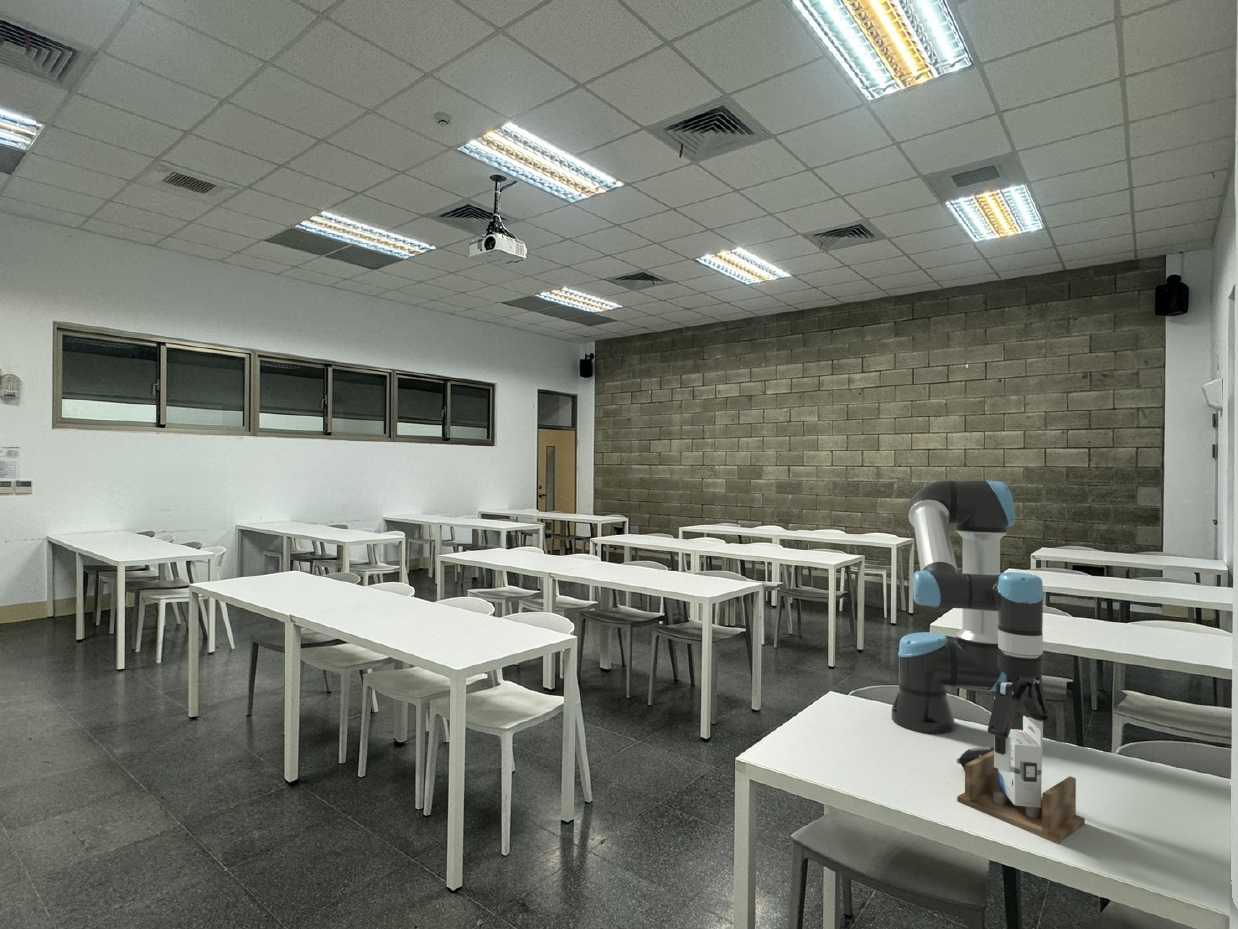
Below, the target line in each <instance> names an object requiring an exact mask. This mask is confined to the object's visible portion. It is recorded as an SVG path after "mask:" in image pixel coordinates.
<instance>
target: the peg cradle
mask: <svg viewBox="0 0 1238 929" xmlns="http://www.w3.org/2000/svg"><path fill="white" fill-rule="evenodd" d="M1076 778H1077V777H1073V776H1071V775H1070V776H1068V777H1066V778H1065V779H1063V780H1061V781H1060V782H1058V783H1056V784H1055V785H1053V786H1052V787H1050V788H1048V789H1047V790H1045V791H1044V792H1041V808H1036V807H1026V806H1016V805H1014V804H1013V803H1012V801H1011V800H1010V799H1009V798H1008V796H1007V795H1006V794H1005V793H1004V791H1003V790H1002V789H1001V788H1000V786H999V785H998V769H997V768H995V767H994V751H991V752H989V753H987V754H985V755H983V756H981V757H979V758H977V759H975V760H973V761H971V762H969V763H967V764H965V770H964V792H962V793H961V794H959V795H957V799H956V800H957V802H959V803H960V804H963V805H965V806H968V807H969V808H972V809H974V810H977V811H979V812H981V813H984V814H987V815H989V816H991V817H994V818H996V819H998V820H1000V821H1002V822H1005V823H1007V824H1010V825H1012V826H1015V827H1018V828H1020V829H1022V830H1024V831H1027V832H1029V833H1031V834H1033V835H1037V836H1038V837H1040V838H1044V839H1045V840H1048V841H1050V842H1052V843H1055V844H1059V843H1061V842H1062V841H1063V840H1065V839H1066V838H1067V837H1070V835H1071V834H1073V833H1074V832H1075V831H1077V830H1078V829H1080V828H1081V827H1082V826H1084V825H1085V823H1086V822H1085V821H1086V818H1085V817H1082V816H1080V815H1077V813H1076V812H1077V809H1076V808H1077V805H1076V804H1077V779H1076Z"/></svg>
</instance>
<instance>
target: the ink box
mask: <svg viewBox="0 0 1238 929" xmlns="http://www.w3.org/2000/svg"><path fill="white" fill-rule="evenodd" d="M1029 727H1032V728H1033V730H1034V731H1035V734H1034V733H1033V732H1032V731H1031V730H1030V728H1029ZM1008 737H1011V772H1009V773H1008V772H1005V771H1003V770H1000V769H998V785H999V786H1000V788H1001V789H1002V790H1003V791H1004V793H1005V794H1006V795H1007V796H1008V798H1009V799H1010V800H1011V801H1012V803H1013V804H1014V805H1016V806H1026V807H1036V808H1041V799H1042V781H1043V780H1042V778H1043V777H1042V776H1043V775H1042V772H1043V770H1042V769H1043V768H1042V767H1043V764H1042V763H1043V762H1042V759H1043V758H1042V757H1043V754H1042V732H1041V730H1040V729H1039V728H1038V727H1037V726H1036V725H1035V724H1034V723H1032V722H1031V721H1030V720H1029V719H1028V718H1027V716H1026V715H1023V716H1022V729H1015V728H1014V729H1013V728H1011V730H1010V733H1009V736H1008Z"/></svg>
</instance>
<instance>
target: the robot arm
mask: <svg viewBox="0 0 1238 929" xmlns="http://www.w3.org/2000/svg"><path fill="white" fill-rule="evenodd" d="M1015 512H1016V511H1015V506H1014V500H1013V496H1012V493H1011V491H1010V488H1009V487H1008V485H1007V484H1006V483H1004V482H1002V481H994V480H987V479H986V480H948V479H947V480H946V479H945V480H943V479H942V480H936V481H933V482H929V483H928V484H927V485H925V486H922V488H920V489H919V490H918V491H917V492H916V493H915V494H914V495H913V496H912V498H911V500H910V501H909V504H908V508H907V517H908V521H909V523H910V525H911V526H912V527H913V529H914V534H915V536H914V537H915V540H916V541H915V542H916V548H917V554H918V563H919V569H920V570H917V571H915V572H914V573H913V578H912V595H913V600H914V603H916V604H917V605H919V606H927V607H931V608H948V609H962V623H961V624H962V628H961V629H960V630H959V631H957V633H955V641H953V640H949V639H948V637H947V636H946V635H945V634H943V633H938V632H937V633H935V632H928V631H927V632H925V631H923V632H914V633H913V632H912V633H908V634H906V635H904V636H902V638H900V640H899V648H898V649H899V650H898V652H897V653H898V659H899V660H898V662H899V663H898V692H897V695H896V697H895V700H894V702H893V705H892V706H891V707H892V708H891V720H892V721H893V722H894V723H896V725H899V726H901V727H903V728H906V729H909V730H912V731H916V732H921V733H927V734H944V733H945V734H946V733H949V732H952V731H953V730H954V729H955V719H954V718H955V716H953V715H954V714H953V711H952V708H951V705H950V702H949V700H948V694H947V693H948V692H947V691H948V690H947V689H948V687H949V688H951V687H952V688H959V689H969V690H975V691H976V690H977V691H985V692H989V693H990V692H995V696H994V700H993V703H992V708H991V713H990V718H989V721H988V727H987V733H988V734H991V735H993V747H994V767H995V768H997V769H1000V770H1003V771H1005V772H1008V773H1009V772H1011V737H1008V736H1009V733H1010V730H1011V729H1012V727H1013V724H1014V721H1015V717H1016V715H1017V711H1018V709H1019V708H1021V707H1022V706H1023V705H1024V708H1025V709H1026V712H1027V714H1028V717H1027V716H1026V717H1027V718H1028V719H1029V720H1030V721H1031V722H1032V723H1034V724H1035V725H1036V726H1037V727H1038V728H1039V729H1040V730H1041V732H1042V755H1043V752H1044V750H1043V745H1044V742H1043V741H1044V739H1043V738H1044V736H1043V734H1044V722H1049V719H1050V718H1049V717H1050V716H1049V715H1048V714H1049V707H1048V704H1047V699H1046V695H1045V694H1046V693H1045V691H1044V687H1043V681H1042V680H1043V679H1042V677H1043V676H1042V675H1043V657H1042V656H1041V655H1042V654H1043V653H1044V642H1043V641H1044V637H1043V635H1044V634H1043V628H1044V627H1043V626H1044V623H1043V622H1044V620H1043V619H1044V618H1043V614H1044V612H1043V611H1044V597H1045V593H1044V588H1043V587H1044V586H1043V585H1044V584H1043V580H1042V578H1041V577H1040V576H1039V575H1036V574H1032V573H1026V572H1017V571H1015V572H1013V571H1011V572H1009V571H1007V572H1001V539H1002V538H1003V537H1004V536H1006V535H1007V534H1008V528H1010V527H1013V526H1014V525H1015V522H1016V521H1015V517H1016V515H1015V514H1016V513H1015ZM948 525H955V531H956V533H958V535H960V537H961V538H962V572H959V571H958V567H957V564H956V562H957V561H956V558H955V554H954V550H953V549H954V548H953V546H952V542H951V540H952V539H951V535H950V533H949V532H950V531H949V527H948ZM1029 728H1030V730H1031V731H1032V732H1033V733H1034V734H1035V731H1034V730H1033V728H1032V727H1029Z"/></svg>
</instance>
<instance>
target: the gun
mask: <svg viewBox="0 0 1238 929" xmlns="http://www.w3.org/2000/svg"><path fill="white" fill-rule="evenodd" d="M991 751H994V746H993V747H992V746H986V747H972V748H969V749H967V750H965V751H964V752H963V753H962V754H961V755H960V757H959V758H956V759H955V760H956V764H958V765H959V764H960V766H962V768H963V769H964V771H965V764H967V763H969V762H971V761H973V760H975V759H977V758H979V757H981V756H983V755H985V754H987V753H989V752H991Z"/></svg>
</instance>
